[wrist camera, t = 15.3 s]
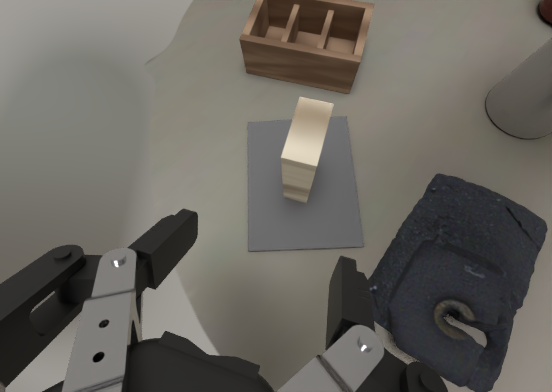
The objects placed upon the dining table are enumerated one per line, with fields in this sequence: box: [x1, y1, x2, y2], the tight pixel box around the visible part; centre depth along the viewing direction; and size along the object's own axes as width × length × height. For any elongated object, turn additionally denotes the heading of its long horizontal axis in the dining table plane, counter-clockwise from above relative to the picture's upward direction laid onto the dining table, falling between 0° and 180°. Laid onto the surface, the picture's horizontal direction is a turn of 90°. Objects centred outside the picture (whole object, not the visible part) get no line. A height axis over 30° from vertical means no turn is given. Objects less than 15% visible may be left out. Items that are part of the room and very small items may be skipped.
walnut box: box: [240, 0, 374, 94], centre depth 35 cm, size 10×16×6 cm, turn 74°
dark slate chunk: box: [368, 174, 547, 392], centre depth 26 cm, size 15×22×5 cm
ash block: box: [281, 97, 334, 203], centre depth 26 cm, size 6×3×12 cm, turn 164°
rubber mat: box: [248, 116, 364, 251], centre depth 32 cm, size 18×14×1 cm
